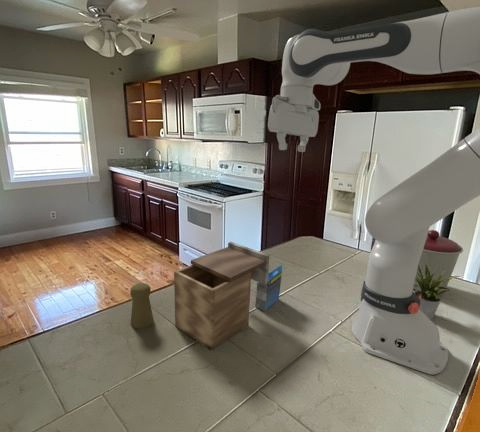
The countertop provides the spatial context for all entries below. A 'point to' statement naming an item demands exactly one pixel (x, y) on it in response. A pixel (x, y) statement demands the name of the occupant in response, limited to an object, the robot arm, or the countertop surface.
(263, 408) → the countertop surface
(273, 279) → the label tape box
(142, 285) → the cork
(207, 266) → the sliding lid
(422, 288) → the house plant
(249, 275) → the storage box
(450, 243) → the canister
